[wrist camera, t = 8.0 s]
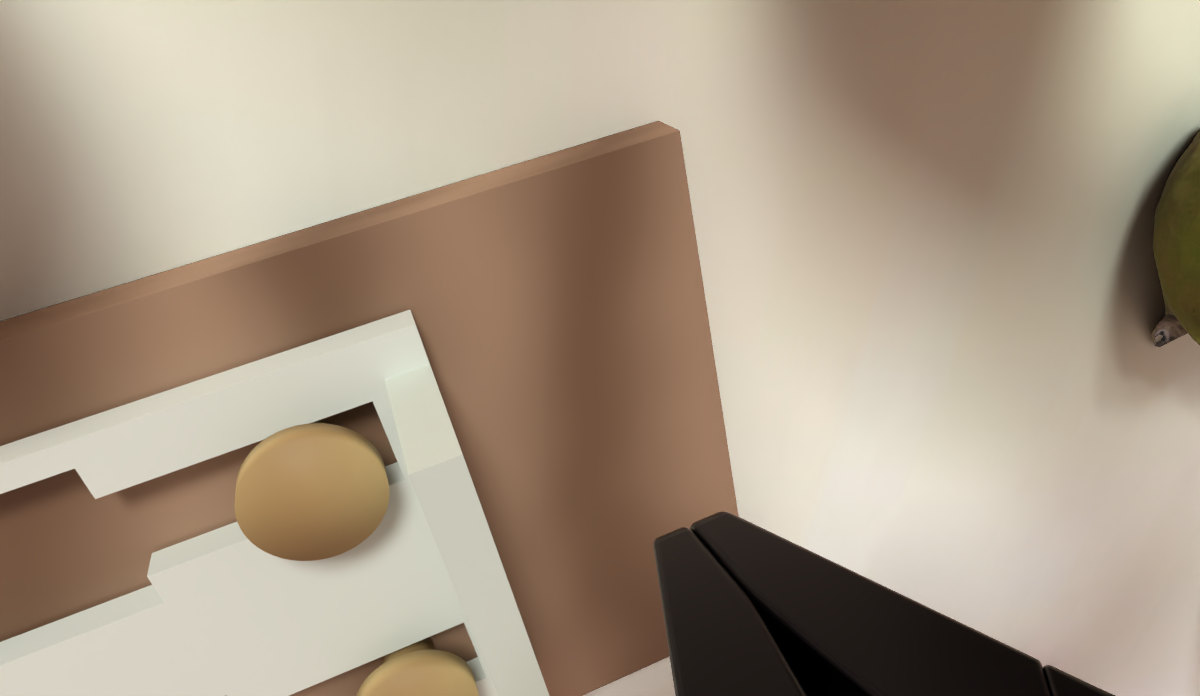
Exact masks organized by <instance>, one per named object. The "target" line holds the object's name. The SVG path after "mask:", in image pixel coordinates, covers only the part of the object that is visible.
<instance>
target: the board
mask: <svg viewBox="0 0 1200 696" xmlns="http://www.w3.org/2000/svg"><path fill="white" fill-rule="evenodd" d="M407 310H411V313H412V316H413V319H414V321H415V324H416V327H417V330H418V332H419V335H420V338H421V341H422V344H423V346H424V349H425V352H426V355H427V358H428V360H429V363H430V366H431V369H432V371H433V374H434V377H435V380H436V382H437V385H438V388H439V391H440V393H441V396H442V399H443V402H444V404H445V407H446V410H447V413H448V415H449V418H450V421H451V423H452V426H453V429H454V432H455V434H456V437H457V440H458V443H459V445H460V448H461V451H462V454H463V456H464V459H465V462H466V465H467V468H468V470H469V473H470V476H471V479H472V482H473V484H474V487H475V490H476V493H477V495H478V498H479V501H480V504H481V507H482V509H483V512H484V515H485V518H486V520H487V523H488V526H489V529H490V532H491V534H492V537H493V540H494V543H495V546H496V548H497V551H498V554H499V557H500V559H501V562H502V565H503V568H504V571H505V573H506V576H507V579H508V582H509V584H510V587H511V590H512V593H513V596H514V598H515V601H516V604H517V607H518V610H519V612H520V615H521V618H522V621H523V623H524V626H525V629H526V632H527V635H528V637H529V640H530V643H531V646H532V648H533V651H534V654H535V657H536V660H537V662H538V665H539V668H540V671H541V674H542V676H543V679H544V682H545V685H546V687H547V690H548V693H549V696H582V695H584V694H587V693H589V692H591V691H593V690H595V689H598V688H600V687H602V686H604V685H607V684H609V683H611V682H613V681H615V680H618V679H620V678H622V677H624V676H627V675H629V674H631V673H633V672H635V671H638V670H640V669H642V668H644V667H647V666H649V665H651V664H653V663H655V662H658V661H660V660H662V659H664V658H667V657H669V656H670V655H669V648H668V641H667V635H666V628H665V621H664V615H663V608H662V601H661V595H660V588H659V581H658V575H657V568H656V561H655V554H654V547H653V543H654V540H655V539H656V538H658V537H660V536H662V535H665V534H667V533H670V532H672V531H674V530H677V529H679V528H682V527H687V528H689V529H690V527H691V525H692V524H693V523H694V522H696V521H698V520H701V519H703V518H706V517H708V516H710V515H713V514H715V513H718V512H721V511H724V512H729V513H731V514H734V515H736V516H738V511H737V504H736V498H735V491H734V484H733V478H732V471H731V465H730V458H729V452H728V445H727V439H726V432H725V425H724V419H723V412H722V406H721V399H720V393H719V386H718V380H717V373H716V367H715V360H714V353H713V347H712V340H711V334H710V327H709V321H708V314H707V308H706V301H705V294H704V288H703V281H702V275H701V268H700V262H699V255H698V249H697V242H696V235H695V229H694V222H693V216H692V209H691V203H690V196H689V190H688V183H687V176H686V170H685V163H684V157H683V150H682V144H681V137H680V131H679V130H677V129H675V128H673V127H671V126H669V125H666V124H664V123H662V122H660V121H656V122H653V123H649V124H646V125H643V126H640V127H636V128H633V129H630V130H627V131H623V132H620V133H617V134H613V135H610V136H607V137H604V138H600V139H597V140H594V141H590V142H587V143H584V144H581V145H577V146H574V147H571V148H568V149H564V150H561V151H558V152H554V153H551V154H548V155H545V156H541V157H538V158H535V159H532V160H528V161H525V162H522V163H518V164H515V165H512V166H509V167H505V168H502V169H499V170H495V171H492V172H489V173H486V174H482V175H479V176H476V177H473V178H469V179H466V180H463V181H459V182H456V183H453V184H450V185H446V186H443V187H440V188H437V189H433V190H430V191H427V192H423V193H420V194H417V195H414V196H410V197H407V198H404V199H400V200H397V201H394V202H391V203H387V204H384V205H381V206H378V207H374V208H371V209H368V210H364V211H361V212H358V213H355V214H351V215H348V216H345V217H342V218H338V219H335V220H332V221H328V222H325V223H322V224H319V225H315V226H312V227H309V228H305V229H302V230H299V231H296V232H292V233H289V234H286V235H283V236H279V237H276V238H273V239H269V240H266V241H263V242H260V243H256V244H253V245H250V246H247V247H243V248H240V249H237V250H233V251H230V252H227V253H224V254H220V255H217V256H214V257H210V258H207V259H204V260H201V261H197V262H194V263H191V264H188V265H184V266H181V267H178V268H174V269H171V270H168V271H165V272H161V273H158V274H155V275H152V276H148V277H145V278H142V279H138V280H135V281H132V282H129V283H125V284H122V285H119V286H115V287H112V288H109V289H106V290H102V291H99V292H96V293H93V294H89V295H86V296H83V297H79V298H76V299H73V300H70V301H66V302H63V303H60V304H57V305H53V306H50V307H47V308H43V309H40V310H37V311H34V312H30V313H27V314H24V315H21V316H17V317H14V318H11V319H7V320H4V321H1V322H0V446H2V445H5V444H8V443H11V442H14V441H17V440H20V439H23V438H26V437H29V436H32V435H35V434H38V433H41V432H44V431H47V430H50V429H53V428H56V427H59V426H62V425H65V424H68V423H71V422H74V421H77V420H80V419H83V418H86V417H89V416H92V415H95V414H98V413H101V412H104V411H107V410H110V409H113V408H116V407H119V406H122V405H125V404H128V403H131V402H134V401H137V400H140V399H143V398H146V397H149V396H152V395H155V394H158V393H161V392H164V391H167V390H170V389H173V388H176V387H179V386H182V385H185V384H188V383H191V382H194V381H197V380H200V379H203V378H206V377H209V376H212V375H215V374H218V373H221V372H224V371H227V370H230V369H233V368H236V367H239V366H242V365H245V364H248V363H251V362H254V361H257V360H260V359H263V358H266V357H269V356H272V355H275V354H278V353H281V352H284V351H287V350H290V349H293V348H296V347H299V346H302V345H305V344H308V343H311V342H314V341H317V340H320V339H323V338H326V337H329V336H332V335H335V334H338V333H341V332H344V331H347V330H350V329H353V328H356V327H359V326H362V325H365V324H368V323H371V322H374V321H377V320H380V319H383V318H386V317H389V316H392V315H395V314H398V313H401V312H404V311H407ZM396 462H397V459H396V457H395V454H394V452H393V450H392V447H391V445H390V442H389V440H388V437H387V435H386V433H385V430H384V428H383V425H382V423H381V420H380V418H379V416H378V413H377V411H376V408H375V406H374V404H373V401H372V402H369V403H366V404H363V405H360V406H358V407H355V408H352V409H349V410H346V411H343V412H341V413H338V414H335V415H332V416H329V417H326V418H324V419H321V420H318V421H315V422H312V423H309V424H302V425H296V426H293V427H289V428H286V429H283V430H281V431H279V432H276V433H274V434H273V435H271V436H269V437H267V438H266V439H264V440H261V441H259V442H256V443H253V444H250V445H247V446H244V447H242V448H239V449H236V450H233V451H230V452H227V453H225V454H222V455H219V456H216V457H213V458H210V459H208V460H205V461H202V462H199V463H196V464H194V465H191V466H188V467H185V468H182V469H179V470H177V471H174V472H171V473H168V474H165V475H162V476H160V477H157V478H154V479H151V480H148V481H145V482H143V483H140V484H137V485H134V486H131V487H128V488H126V489H123V490H120V491H117V492H114V493H112V494H109V495H106V496H103V497H100V498H97V499H95V498H94V497H93V495H92V494H91V492H90V491H89V489H88V488H87V486H86V485H85V483H84V482H83V480H82V479H81V477H80V476H79V474H78V473H77V471H76V470H75V469H72V470H69V471H66V472H63V473H60V474H57V475H54V476H51V477H49V478H46V479H43V480H40V481H37V482H34V483H31V484H28V485H25V486H22V487H20V488H17V489H14V490H11V491H8V492H5V493H2V494H0V642H2V641H4V640H7V639H10V638H12V637H15V636H18V635H20V634H23V633H26V632H28V631H31V630H34V629H36V628H39V627H41V626H44V625H47V624H49V623H52V622H55V621H57V620H60V619H63V618H65V617H68V616H71V615H73V614H76V613H78V612H81V611H84V610H86V609H89V608H92V607H94V606H97V605H100V604H102V603H105V602H107V601H110V600H113V599H115V598H118V597H121V596H123V595H126V594H129V593H131V592H134V591H137V590H139V589H142V588H144V587H147V586H150V585H152V583H151V582H150V580H149V579H148V577H147V574H148V569H149V564H150V559H151V554H152V553H153V552H156V551H159V550H162V549H164V548H167V547H170V546H172V545H175V544H178V543H180V542H183V541H186V540H188V539H191V538H194V537H197V536H199V535H202V534H205V533H207V532H210V531H213V530H215V529H218V528H221V527H224V526H226V525H229V524H232V523H234V522H238V525H239V527H240V529H241V530H242V532H243V533H244V535H245V536H246V537H247V538H248V539H249V541H250V542H251V543H253V544H254V545H255V546H256V547H258V548H259V549H261V550H263V551H264V552H266V553H269V554H271V555H273V556H276V557H279V558H283V559H288V560H295V561H314V560H322V559H326V558H330V557H334V556H337V555H340V554H342V553H344V552H347V551H349V550H351V549H352V548H354V547H356V546H358V545H359V544H360V543H362V542H363V541H364V540H366V539H367V538H368V537H369V536H370V535H371V534H372V533H373V532H374V531H375V530H376V528H377V527H378V526H379V524H380V523H381V521H382V520H383V517H384V515H385V513H386V510H387V507H388V503H389V484H388V479H387V474H386V469H385V466H388V465H391V464H393V463H396ZM477 657H478V656H477V653H476V651H475V648H474V646H473V644H472V641H471V639H470V636H469V634H468V631H467V629H466V627H465V624H464V623H461V624H459V625H457V626H454V627H452V628H449V629H447V630H445V631H442V632H440V633H437V634H435V635H433V636H430V637H428V638H425V639H423V640H421V641H418V642H416V643H413V644H411V645H409V646H406V647H404V648H402V649H399V650H397V651H394V652H392V653H390V654H387V655H385V656H382V657H380V658H378V659H375V660H373V661H370V662H368V663H366V664H363V665H361V666H359V667H356V668H354V669H351V670H349V671H347V672H344V673H342V674H339V675H337V676H335V677H332V678H330V679H327V680H325V681H323V682H320V683H318V684H315V685H313V686H311V687H308V688H306V689H304V690H301V691H299V692H296V693H294V694H292V695H289V696H479V694H478V690H477V686H476V682H475V679H474V675H473V672H472V670H471V668H470V666H469V665H468V664H467V663H466V662H467V661H470V660H472V659H474V658H477ZM225 696H226V695H225Z"/></svg>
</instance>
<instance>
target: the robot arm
mask: <svg viewBox="0 0 1200 696" xmlns="http://www.w3.org/2000/svg"><path fill="white" fill-rule="evenodd" d="M653 547H654V554H655V561H656V568H657V575H658V581H659V588H660V595H661V601H662V608H663V615H664V621H665V628H666V635H667V641H668V648H669V655H670V661H671V668H672V675H673V681H674V688H675V695H676V696H1115V695H1113V694H1110V693H1108V692H1106V691H1104V690H1102V689H1099V688H1097V687H1095V686H1093V685H1090V684H1088V683H1086V682H1084V681H1082V680H1080V679H1078V678H1076V677H1074V676H1072V675H1070V674H1067V673H1065V672H1063V671H1061V670H1059V669H1057V668H1055V667H1053V666H1051V665H1046V666H1044V667H1042V664H1041V663H1040V661H1039V660H1037V659H1035V658H1033V657H1031V656H1029V655H1027V654H1025V653H1023V652H1021V651H1019V650H1016V649H1014V648H1012V647H1010V646H1008V645H1006V644H1004V643H1002V642H1000V641H998V640H995V639H993V638H991V637H989V636H987V635H985V634H983V633H981V632H979V631H977V630H975V629H972V628H970V627H968V626H966V625H964V624H962V623H960V622H958V621H956V620H954V619H951V618H949V617H947V616H945V615H943V614H941V613H939V612H937V611H935V610H933V609H931V608H928V607H926V606H924V605H922V604H920V603H918V602H916V601H914V600H912V599H910V598H907V597H905V596H903V595H901V594H899V593H897V592H895V591H893V590H891V589H889V588H887V587H884V586H882V585H880V584H878V583H876V582H874V581H872V580H870V579H868V578H866V577H863V576H861V575H859V574H857V573H855V572H853V571H851V570H849V569H847V568H845V567H843V566H840V565H838V564H836V563H834V562H832V561H830V560H828V559H826V558H824V557H822V556H819V555H817V554H815V553H813V552H811V551H809V550H807V549H805V548H803V547H801V546H799V545H796V544H794V543H792V542H790V541H788V540H786V539H784V538H782V537H780V536H778V535H775V534H773V533H771V532H769V531H767V530H765V529H763V528H761V527H759V526H757V525H755V524H752V523H750V522H748V521H746V520H744V519H742V518H740V517H738V516H736V515H734V514H731V513H729V512H724V511H721V512H718V513H715V514H713V515H710V516H708V517H706V518H703V519H701V520H698V521H696V522H694V523H693V524H692V525H691V527H690V529H689V528H687V527H682V528H679V529H677V530H674V531H672V532H670V533H667V534H665V535H662V536H660V537H658V538H656V539H655V540H654V543H653Z"/></svg>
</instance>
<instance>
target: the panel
mask: <svg viewBox="0 0 1200 696" xmlns="http://www.w3.org/2000/svg"><path fill="white" fill-rule="evenodd" d="M372 401H373V404H374V406H375V408H376V411H377V413H378V416H379V418H380V420H381V423H382V425H383V428H384V430H385V433H386V435H387V437H388V440H389V442H390V445H391V447H392V450H393V452H394V454H395V457H396V459H397V462H396V463H393V464H391V465H388V466H385V469H386V474H387V479H388V484H389V503H388V507H387V510H386V513H385V515H384V517H383V520H382V521H381V523H380V524H379V526H378V527H377V528H376V530H375V531H374V532H373V533H372V534H371V535H370V536H369V537H368V538H367V539H366V540H364V541H363V542H362V543H360V544H359V545H358V546H356V547H354V548H352V549H351V550H349V551H347V552H344V553H342V554H340V555H337V556H334V557H330V558H326V559H322V560H314V561H295V560H288V559H283V558H279V557H276V556H273V555H271V554H269V553H266V552H264V551H263V550H261V549H259V548H258V547H256V546H255V545H254V544H253V543H251V542H250V541H249V539H248V538H247V537H246V536H245V535H244V533H243V532H242V530H241V529H240V527H239V525H238V522H234V523H232V524H229V525H226V526H224V527H221V528H218V529H215V530H213V531H210V532H207V533H205V534H202V535H199V536H197V537H194V538H191V539H188V540H186V541H183V542H180V543H178V544H175V545H172V546H170V547H167V548H164V549H162V550H159V551H156V552H153V553H152V554H151V559H150V564H149V569H148V574H147V577H148V579H149V580H150V582H151V583H152V585H150V586H147V587H144V588H142V589H139V590H137V591H134V592H131V593H129V594H126V595H123V596H121V597H118V598H115V599H113V600H110V601H107V602H105V603H102V604H100V605H97V606H94V607H92V608H89V609H86V610H84V611H81V612H78V613H76V614H73V615H71V616H68V617H65V618H63V619H60V620H57V621H55V622H52V623H49V624H47V625H44V626H41V627H39V628H36V629H34V630H31V631H28V632H26V633H23V634H20V635H18V636H15V637H12V638H10V639H7V640H4V641H2V642H0V696H225V695H226V696H289V695H292V694H294V693H296V692H299V691H301V690H304V689H306V688H308V687H311V686H313V685H315V684H318V683H320V682H323V681H325V680H327V679H330V678H332V677H335V676H337V675H339V674H342V673H344V672H347V671H349V670H351V669H354V668H356V667H359V666H361V665H363V664H366V663H368V662H370V661H373V660H375V659H378V658H380V657H382V656H385V655H387V654H390V653H392V652H394V651H397V650H399V649H402V648H404V647H406V646H409V645H411V644H413V643H416V642H418V641H421V640H423V639H425V638H428V637H430V636H433V635H435V634H437V633H440V632H442V631H445V630H447V629H449V628H452V627H454V626H457V625H459V624H461V623H464V624H465V627H466V629H467V631H468V634H469V636H470V639H471V641H472V644H473V646H474V648H475V651H476V653H477V656H478V657H477V658H474V659H472V660H470V661H467V662H466V663H467V664H468V665H469V666H470V668H471V670H472V672H473V675H474V679H475V682H476V686H477V690H478V694H479V696H549V693H548V690H547V687H546V685H545V682H544V679H543V676H542V674H541V671H540V668H539V665H538V662H537V660H536V657H535V654H534V651H533V648H532V646H531V643H530V640H529V637H528V635H527V632H526V629H525V626H524V623H523V621H522V618H521V615H520V612H519V610H518V607H517V604H516V601H515V598H514V596H513V593H512V590H511V587H510V584H509V582H508V579H507V576H506V573H505V571H504V568H503V565H502V562H501V559H500V557H499V554H498V551H497V548H496V546H495V543H494V540H493V537H492V534H491V532H490V529H489V526H488V523H487V520H486V518H485V515H484V512H483V509H482V507H481V504H480V501H479V498H478V495H477V493H476V490H475V487H474V484H473V482H472V479H471V476H470V473H469V470H468V468H467V465H466V462H465V459H464V456H463V454H462V451H461V448H460V445H459V443H458V440H457V437H456V434H455V432H454V429H453V426H452V423H451V421H450V418H449V415H448V413H447V410H446V407H445V404H444V402H443V399H442V396H441V393H440V391H439V388H438V385H437V382H436V380H435V377H434V374H433V371H432V369H431V366H430V363H429V360H428V358H427V355H426V352H425V349H424V346H423V344H422V341H421V338H420V335H419V332H418V330H417V327H416V324H415V321H414V319H413V316H412V313H411V310H407V311H404V312H401V313H398V314H395V315H392V316H389V317H386V318H383V319H380V320H377V321H374V322H371V323H368V324H365V325H362V326H359V327H356V328H353V329H350V330H347V331H344V332H341V333H338V334H335V335H332V336H329V337H326V338H323V339H320V340H317V341H314V342H311V343H308V344H305V345H302V346H299V347H296V348H293V349H290V350H287V351H284V352H281V353H278V354H275V355H272V356H269V357H266V358H263V359H260V360H257V361H254V362H251V363H248V364H245V365H242V366H239V367H236V368H233V369H230V370H227V371H224V372H221V373H218V374H215V375H212V376H209V377H206V378H203V379H200V380H197V381H194V382H191V383H188V384H185V385H182V386H179V387H176V388H173V389H170V390H167V391H164V392H161V393H158V394H155V395H152V396H149V397H146V398H143V399H140V400H137V401H134V402H131V403H128V404H125V405H122V406H119V407H116V408H113V409H110V410H107V411H104V412H101V413H98V414H95V415H92V416H89V417H86V418H83V419H80V420H77V421H74V422H71V423H68V424H65V425H62V426H59V427H56V428H53V429H50V430H47V431H44V432H41V433H38V434H35V435H32V436H29V437H26V438H23V439H20V440H17V441H14V442H11V443H8V444H5V445H2V446H0V494H2V493H5V492H8V491H11V490H14V489H17V488H20V487H22V486H25V485H28V484H31V483H34V482H37V481H40V480H43V479H46V478H49V477H51V476H54V475H57V474H60V473H63V472H66V471H69V470H72V469H75V470H76V471H77V473H78V474H79V476H80V477H81V479H82V480H83V482H84V483H85V485H86V486H87V488H88V489H89V491H90V492H91V494H92V495H93V497H94V498H95V499H97V498H100V497H103V496H106V495H109V494H112V493H114V492H117V491H120V490H123V489H126V488H128V487H131V486H134V485H137V484H140V483H143V482H145V481H148V480H151V479H154V478H157V477H160V476H162V475H165V474H168V473H171V472H174V471H177V470H179V469H182V468H185V467H188V466H191V465H194V464H196V463H199V462H202V461H205V460H208V459H210V458H213V457H216V456H219V455H222V454H225V453H227V452H230V451H233V450H236V449H239V448H242V447H244V446H247V445H250V444H253V443H256V442H259V441H261V440H264V439H266V438H267V437H269V436H271V435H273V434H274V433H276V432H279V431H281V430H283V429H286V428H289V427H293V426H296V425H302V424H309V423H312V422H315V421H318V420H321V419H324V418H326V417H329V416H332V415H335V414H338V413H341V412H343V411H346V410H349V409H352V408H355V407H358V406H360V405H363V404H366V403H369V402H372Z"/></svg>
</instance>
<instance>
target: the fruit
mask: <svg viewBox="0 0 1200 696" xmlns="http://www.w3.org/2000/svg"><path fill="white" fill-rule="evenodd" d="M1153 252H1154V257H1155V261H1156V266H1157V270H1158V274H1159V279H1160V283H1161V288H1162V292H1163V298H1164V304H1165V312H1166V315H1165V316H1164V318H1163V319H1162V320H1161V321H1160V322H1159V323H1158V324H1157V325H1156V327H1155V328H1154V330H1153V331H1152V332H1151V337H1152V339H1153V340H1154V343H1155V346H1157V347H1161V346H1163V345H1165V344H1167V343H1169V342H1171V341H1173V340H1175V339H1177V338H1179V337H1181V336H1183V335H1185V334H1187V333H1188V334H1189V335H1190V336H1191V337H1192V338H1193V339H1194V340H1195V341H1196V342H1197V343H1198V344H1199V345H1200V130H1199V131H1198V133H1197V134H1196V136H1195V138H1194V139H1193V141H1192V142H1191V144H1190V145H1189V147H1188V148H1187V149H1186V151H1185V152H1184V153H1183V155H1182V156H1181V157H1180V158H1179V160H1178V161H1177V163H1176V165H1175V166H1174V168H1173V170H1172V172H1171V174H1170V176H1169V177H1168V180H1167V182H1166V185H1165V188H1164V190H1163V193H1162V195H1161V198H1160V200H1159V203H1158V205H1157V208H1156V210H1155V224H1154V240H1153ZM1159 334H1160V335H1163V337H1162V339H1161V341H1159V342H1156V340H1155V337H1156V336H1158V335H1159Z"/></svg>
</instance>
